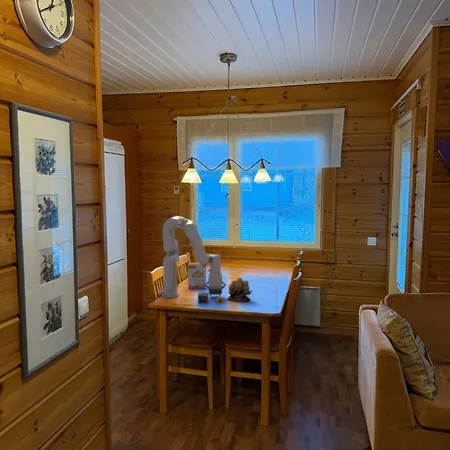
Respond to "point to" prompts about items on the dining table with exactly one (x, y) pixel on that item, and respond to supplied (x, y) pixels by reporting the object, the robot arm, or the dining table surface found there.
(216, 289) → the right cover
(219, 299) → the letter cube
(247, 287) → the brown stone statue
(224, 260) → the dining table surface
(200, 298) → the left cover
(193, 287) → the cracker box
